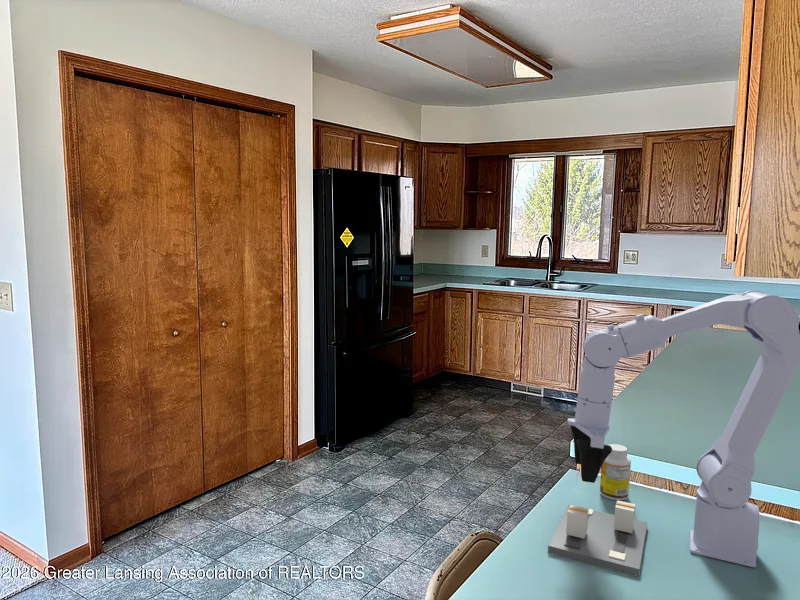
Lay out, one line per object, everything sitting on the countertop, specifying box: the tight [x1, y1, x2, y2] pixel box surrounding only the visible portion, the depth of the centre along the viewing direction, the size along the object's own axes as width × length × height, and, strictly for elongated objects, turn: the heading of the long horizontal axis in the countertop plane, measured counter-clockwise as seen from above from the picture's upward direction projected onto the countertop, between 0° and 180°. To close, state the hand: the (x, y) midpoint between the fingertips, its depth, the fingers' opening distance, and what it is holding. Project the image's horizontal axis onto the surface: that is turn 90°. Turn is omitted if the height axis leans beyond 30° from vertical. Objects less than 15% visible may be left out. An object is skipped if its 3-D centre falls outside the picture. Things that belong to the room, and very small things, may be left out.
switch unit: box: [547, 504, 648, 577], centre depth 100 cm, size 14×17×1 cm
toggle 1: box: [566, 504, 590, 539], centre depth 99 cm, size 3×3×4 cm
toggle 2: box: [614, 500, 636, 533], centre depth 101 cm, size 3×3×4 cm
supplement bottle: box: [599, 443, 632, 501], centre depth 117 cm, size 6×6×10 cm
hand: (584, 472), depth 103 cm, fingers open, 7 cm apart
